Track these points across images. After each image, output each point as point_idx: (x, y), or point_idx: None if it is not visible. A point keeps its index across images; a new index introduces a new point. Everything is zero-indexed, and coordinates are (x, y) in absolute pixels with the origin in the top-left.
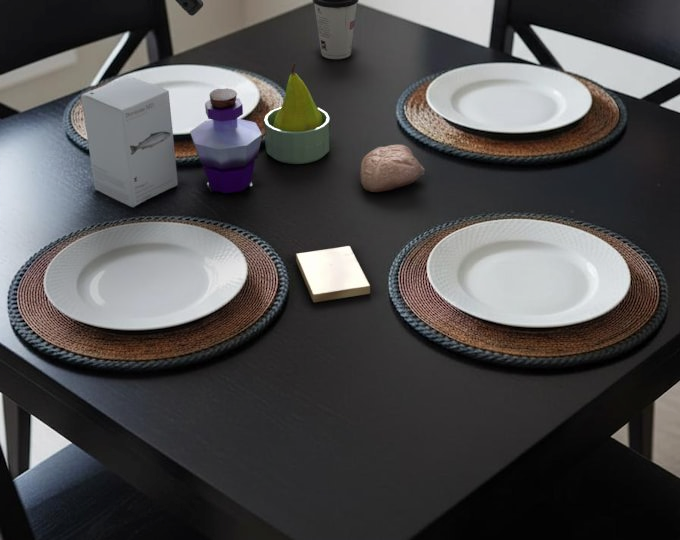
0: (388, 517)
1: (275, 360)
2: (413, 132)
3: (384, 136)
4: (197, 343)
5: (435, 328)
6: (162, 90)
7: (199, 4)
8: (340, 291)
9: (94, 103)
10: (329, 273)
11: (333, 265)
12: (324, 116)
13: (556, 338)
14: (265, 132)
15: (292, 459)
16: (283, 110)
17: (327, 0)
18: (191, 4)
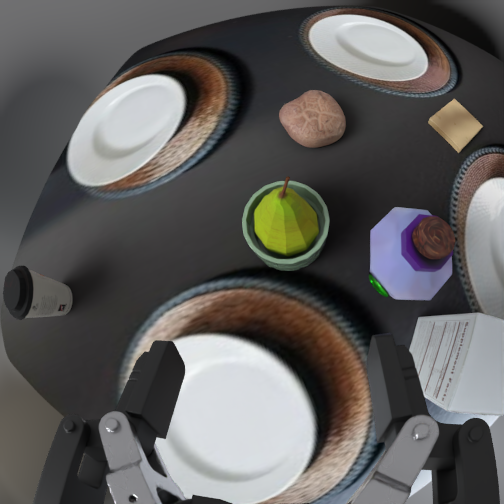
0: None
1: None
2: (203, 149)
3: (221, 167)
4: None
5: (449, 71)
6: (481, 321)
7: (392, 336)
8: (469, 113)
9: None
10: (462, 122)
11: (454, 122)
12: (258, 197)
13: (414, 33)
14: (312, 257)
15: None
16: (304, 223)
17: (25, 295)
18: (408, 354)
